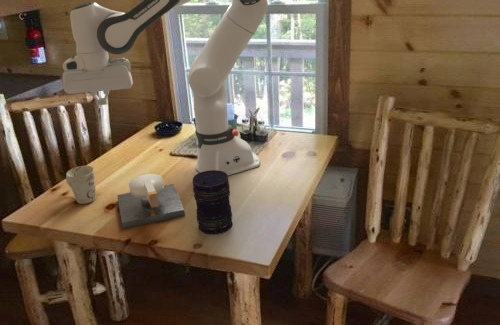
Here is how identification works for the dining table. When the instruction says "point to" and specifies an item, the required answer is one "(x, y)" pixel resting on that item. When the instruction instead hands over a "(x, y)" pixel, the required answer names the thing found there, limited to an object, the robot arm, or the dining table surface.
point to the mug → (82, 183)
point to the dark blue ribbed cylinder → (212, 202)
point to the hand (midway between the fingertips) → (102, 104)
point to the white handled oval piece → (147, 188)
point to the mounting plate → (149, 208)
